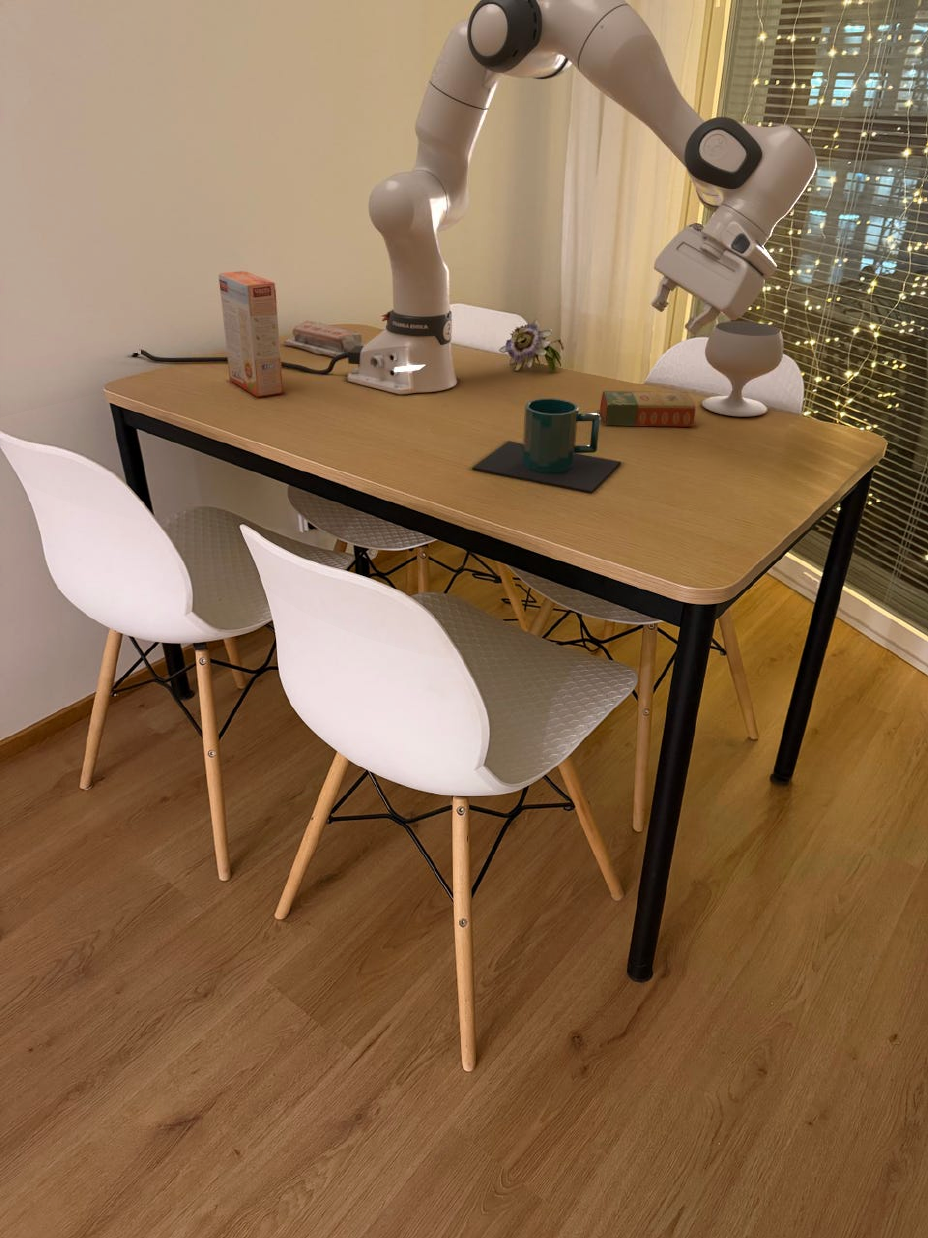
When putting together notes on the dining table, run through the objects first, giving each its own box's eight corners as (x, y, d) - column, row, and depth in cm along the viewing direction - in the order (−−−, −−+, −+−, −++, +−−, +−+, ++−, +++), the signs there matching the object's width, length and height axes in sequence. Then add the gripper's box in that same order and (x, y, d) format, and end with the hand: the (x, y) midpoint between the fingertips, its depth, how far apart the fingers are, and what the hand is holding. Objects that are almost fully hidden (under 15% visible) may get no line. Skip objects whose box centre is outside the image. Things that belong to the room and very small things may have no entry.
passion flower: (518, 395, 197) (487, 347, 194) (540, 374, 204) (511, 328, 201) (556, 374, 189) (525, 323, 186) (578, 353, 196) (548, 304, 193)
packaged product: (369, 329, 203) (336, 337, 197) (369, 351, 206) (337, 360, 199) (314, 316, 213) (281, 323, 206) (315, 337, 216) (283, 345, 209)
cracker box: (285, 393, 177) (276, 281, 167) (256, 398, 174) (245, 284, 164) (256, 376, 187) (246, 269, 176) (229, 380, 184) (216, 271, 173)
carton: (693, 428, 164) (696, 404, 162) (604, 425, 164) (606, 402, 162) (685, 413, 171) (688, 390, 169) (599, 411, 171) (601, 388, 169)
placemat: (472, 469, 145) (472, 467, 144) (508, 443, 155) (508, 440, 155) (591, 493, 137) (591, 490, 137) (620, 463, 148) (620, 461, 148)
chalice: (727, 423, 166) (741, 340, 159) (682, 401, 177) (693, 322, 170) (787, 415, 171) (804, 334, 164) (740, 394, 182) (753, 317, 175)
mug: (527, 474, 142) (530, 415, 137) (518, 455, 149) (521, 398, 144) (602, 472, 144) (607, 413, 139) (589, 453, 151) (594, 397, 146)
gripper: (680, 208, 141) (625, 286, 146) (761, 250, 127) (697, 335, 132) (703, 229, 145) (649, 304, 150) (784, 272, 131) (721, 354, 136)
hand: (672, 319), depth 141 cm, fingers open, 8 cm apart
